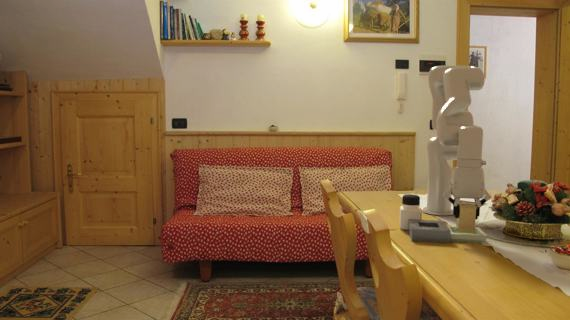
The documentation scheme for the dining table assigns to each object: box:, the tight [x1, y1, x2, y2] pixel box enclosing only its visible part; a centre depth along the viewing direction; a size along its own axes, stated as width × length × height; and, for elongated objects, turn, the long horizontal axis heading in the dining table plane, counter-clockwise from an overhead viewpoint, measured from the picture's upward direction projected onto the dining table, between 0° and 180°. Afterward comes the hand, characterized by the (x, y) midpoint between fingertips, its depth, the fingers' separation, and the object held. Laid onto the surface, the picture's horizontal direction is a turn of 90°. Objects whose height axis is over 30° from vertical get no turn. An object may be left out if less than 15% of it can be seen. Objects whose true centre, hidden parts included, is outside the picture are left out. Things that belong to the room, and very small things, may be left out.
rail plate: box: [407, 219, 451, 244], centre depth 159 cm, size 14×12×4 cm
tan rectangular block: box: [455, 201, 477, 233], centre depth 158 cm, size 5×5×9 cm
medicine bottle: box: [398, 193, 423, 231], centre depth 170 cm, size 7×7×12 cm
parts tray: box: [447, 225, 488, 244], centre depth 158 cm, size 11×11×2 cm
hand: (465, 217), depth 158 cm, fingers closed on tan rectangular block, 5 cm apart
